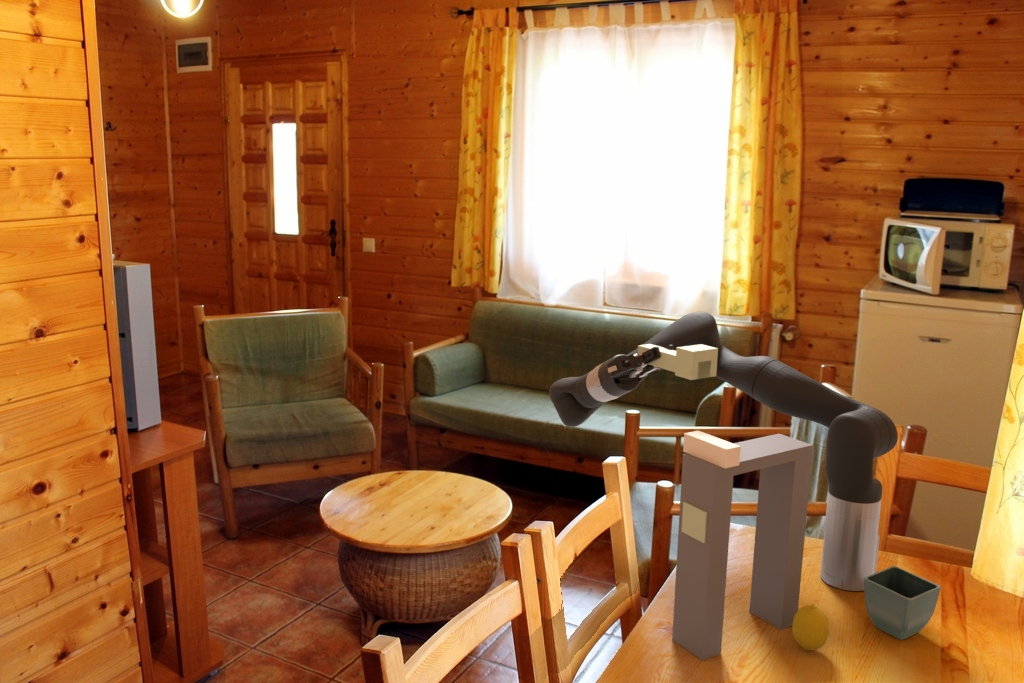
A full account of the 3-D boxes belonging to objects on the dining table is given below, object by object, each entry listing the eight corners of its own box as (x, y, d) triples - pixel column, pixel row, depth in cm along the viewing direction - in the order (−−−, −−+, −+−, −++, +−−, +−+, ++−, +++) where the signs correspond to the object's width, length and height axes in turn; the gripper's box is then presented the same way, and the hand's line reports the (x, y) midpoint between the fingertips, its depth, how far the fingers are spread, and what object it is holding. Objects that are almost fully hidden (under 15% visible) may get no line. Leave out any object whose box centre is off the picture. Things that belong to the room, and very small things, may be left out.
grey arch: (765, 605, 149) (779, 433, 143) (796, 623, 144) (812, 444, 137) (670, 640, 138) (681, 454, 132) (701, 661, 132) (713, 468, 126)
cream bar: (697, 448, 135) (698, 430, 134) (739, 465, 127) (740, 446, 127) (683, 451, 133) (684, 433, 133) (725, 468, 126) (726, 449, 125)
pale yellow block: (655, 358, 161) (656, 332, 160) (716, 376, 148) (718, 348, 147) (631, 361, 158) (632, 335, 157) (690, 380, 145) (692, 351, 144)
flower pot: (904, 650, 136) (910, 599, 134) (857, 625, 143) (862, 577, 142) (936, 635, 141) (942, 586, 139) (888, 612, 148) (894, 565, 146)
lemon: (829, 662, 132) (833, 615, 131) (792, 657, 134) (796, 611, 132) (823, 643, 138) (828, 598, 136) (788, 639, 139) (792, 594, 137)
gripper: (645, 392, 171) (700, 365, 156) (589, 401, 163) (642, 374, 149) (634, 357, 172) (688, 328, 158) (579, 364, 165) (630, 334, 151)
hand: (665, 350), depth 154 cm, fingers closed on pale yellow block, 3 cm apart
